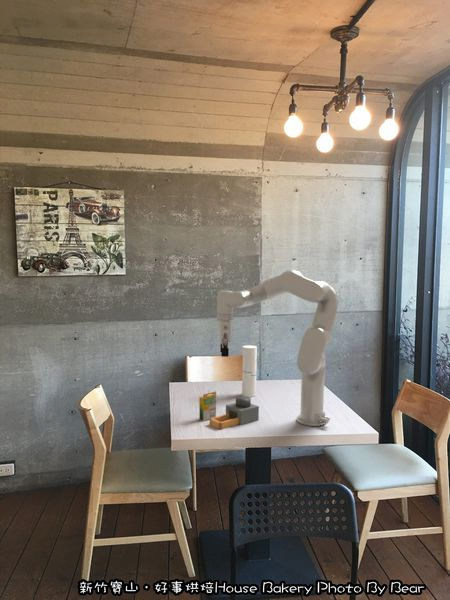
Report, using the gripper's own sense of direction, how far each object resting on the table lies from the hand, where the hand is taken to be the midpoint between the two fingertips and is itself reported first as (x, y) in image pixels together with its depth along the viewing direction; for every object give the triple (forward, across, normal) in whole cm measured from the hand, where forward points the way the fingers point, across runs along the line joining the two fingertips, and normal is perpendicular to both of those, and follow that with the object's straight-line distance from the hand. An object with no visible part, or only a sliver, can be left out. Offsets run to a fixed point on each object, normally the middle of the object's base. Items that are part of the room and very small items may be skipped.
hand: (224, 354), depth 208 cm
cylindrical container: (+25, +20, -14) cm, 35 cm away
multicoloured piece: (+25, -19, -3) cm, 32 cm away
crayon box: (+25, -14, +7) cm, 30 cm away
